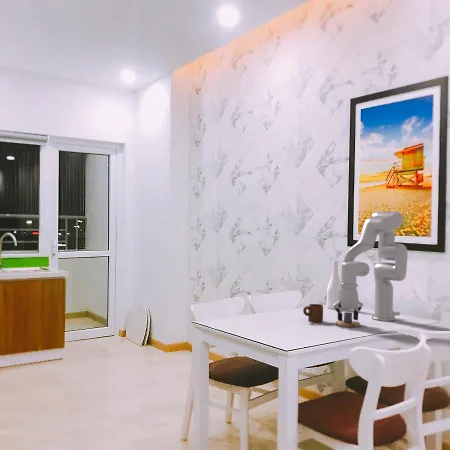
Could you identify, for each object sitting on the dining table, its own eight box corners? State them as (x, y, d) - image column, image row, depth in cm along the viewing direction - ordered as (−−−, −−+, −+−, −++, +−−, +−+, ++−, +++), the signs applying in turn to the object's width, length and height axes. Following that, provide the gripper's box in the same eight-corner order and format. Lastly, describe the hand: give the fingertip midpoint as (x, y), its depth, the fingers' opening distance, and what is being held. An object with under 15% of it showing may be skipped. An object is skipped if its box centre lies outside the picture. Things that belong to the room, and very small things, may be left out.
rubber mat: (352, 323, 265) (352, 321, 265) (368, 328, 251) (368, 327, 251) (327, 324, 260) (328, 322, 260) (342, 330, 247) (342, 328, 247)
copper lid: (351, 322, 263) (351, 310, 263) (364, 326, 252) (364, 314, 252) (331, 323, 260) (331, 311, 260) (343, 328, 248) (344, 315, 248)
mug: (307, 325, 257) (308, 307, 256) (298, 322, 263) (299, 304, 263) (325, 323, 262) (326, 305, 262) (316, 320, 269) (316, 303, 269)
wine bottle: (345, 308, 309) (346, 260, 309) (334, 309, 304) (335, 260, 304) (334, 306, 317) (335, 259, 317) (323, 307, 313) (324, 259, 312)
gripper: (359, 285, 262) (358, 318, 262) (329, 286, 256) (329, 319, 257) (367, 287, 255) (366, 321, 255) (337, 287, 249) (336, 322, 249)
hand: (347, 320), depth 256 cm, fingers open, 8 cm apart
